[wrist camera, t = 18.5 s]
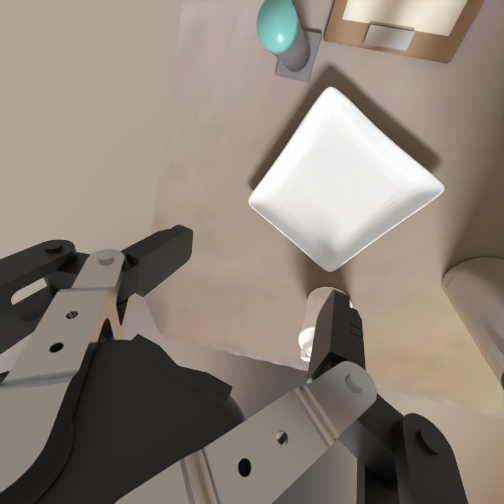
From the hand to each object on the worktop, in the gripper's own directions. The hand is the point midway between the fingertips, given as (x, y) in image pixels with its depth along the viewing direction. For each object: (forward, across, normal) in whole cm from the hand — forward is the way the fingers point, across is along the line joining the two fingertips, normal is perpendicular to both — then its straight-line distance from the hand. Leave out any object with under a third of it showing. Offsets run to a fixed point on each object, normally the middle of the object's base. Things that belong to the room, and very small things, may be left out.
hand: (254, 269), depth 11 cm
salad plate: (+31, -3, +2) cm, 31 cm away
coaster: (+30, +8, -14) cm, 34 cm away
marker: (+30, +8, -14) cm, 34 cm away
